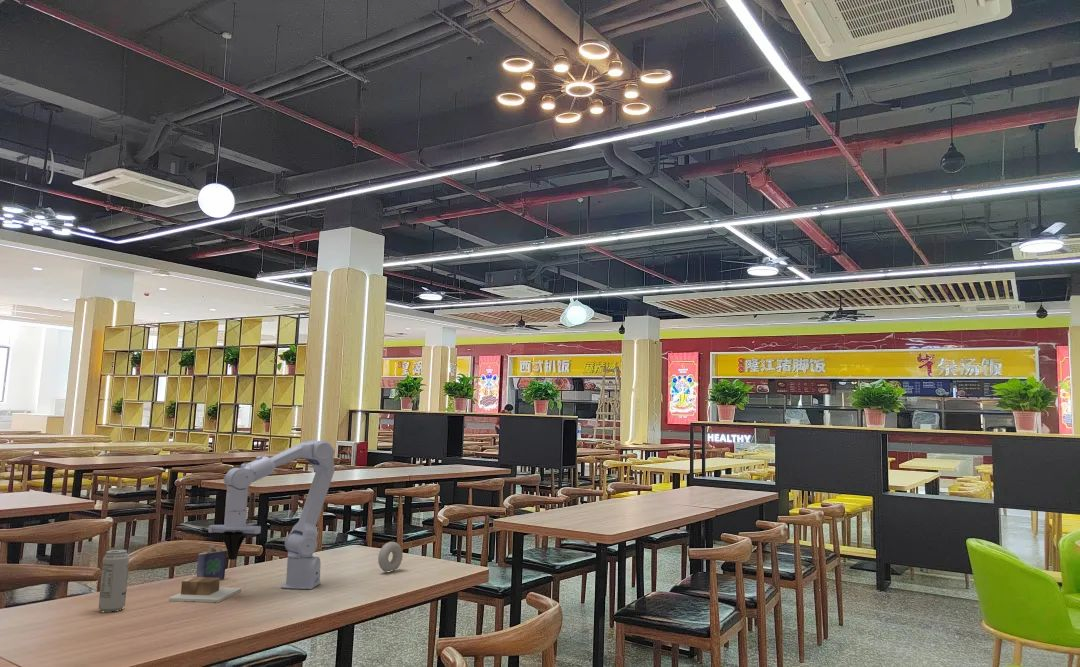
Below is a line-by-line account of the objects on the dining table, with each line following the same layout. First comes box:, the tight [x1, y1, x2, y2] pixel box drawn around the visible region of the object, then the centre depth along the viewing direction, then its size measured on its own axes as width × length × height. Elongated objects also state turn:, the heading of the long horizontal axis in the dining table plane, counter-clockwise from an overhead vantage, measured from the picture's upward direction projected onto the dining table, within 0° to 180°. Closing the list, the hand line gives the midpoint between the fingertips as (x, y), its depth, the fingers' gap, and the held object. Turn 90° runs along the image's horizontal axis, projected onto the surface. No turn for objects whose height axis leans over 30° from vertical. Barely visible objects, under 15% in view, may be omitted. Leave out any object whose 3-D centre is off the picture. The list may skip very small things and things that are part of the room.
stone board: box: [168, 586, 242, 604], centre depth 207 cm, size 14×14×1 cm
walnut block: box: [180, 576, 221, 595], centre depth 207 cm, size 4×6×8 cm
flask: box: [196, 545, 228, 581], centre depth 226 cm, size 9×3×11 cm, turn 146°
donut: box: [377, 541, 403, 572], centre depth 244 cm, size 10×4×10 cm, turn 146°
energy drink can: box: [98, 549, 130, 613], centre depth 191 cm, size 6×6×15 cm
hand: (232, 558), depth 208 cm, fingers closed
